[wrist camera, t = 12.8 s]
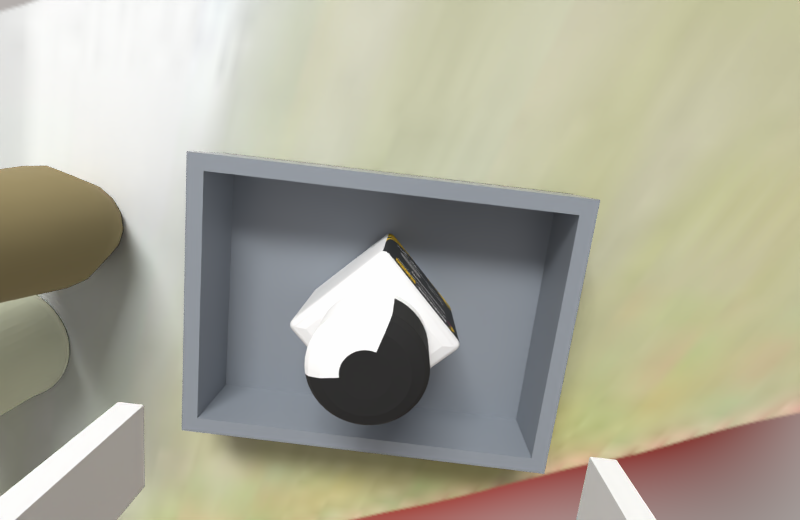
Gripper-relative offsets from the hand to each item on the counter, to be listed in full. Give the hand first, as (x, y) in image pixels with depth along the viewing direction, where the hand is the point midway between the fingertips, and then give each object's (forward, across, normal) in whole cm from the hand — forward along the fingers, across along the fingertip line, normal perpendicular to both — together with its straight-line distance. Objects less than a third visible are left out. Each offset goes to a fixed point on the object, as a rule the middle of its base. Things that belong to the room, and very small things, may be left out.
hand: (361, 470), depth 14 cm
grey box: (+21, +1, +1) cm, 21 cm away
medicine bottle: (+20, +1, +1) cm, 20 cm away
